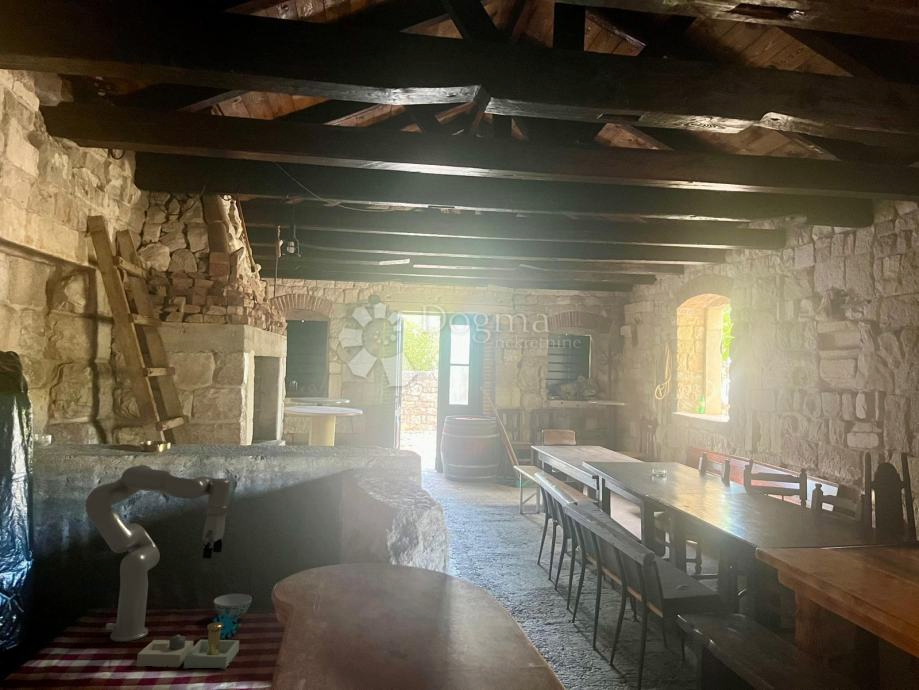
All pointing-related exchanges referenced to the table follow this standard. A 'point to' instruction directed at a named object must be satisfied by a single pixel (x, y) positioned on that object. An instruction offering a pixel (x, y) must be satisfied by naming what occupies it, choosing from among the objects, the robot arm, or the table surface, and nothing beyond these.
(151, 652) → the beige boxy piece
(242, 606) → the chinaware
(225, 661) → the tray
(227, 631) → the teal lobed piece
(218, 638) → the pin
